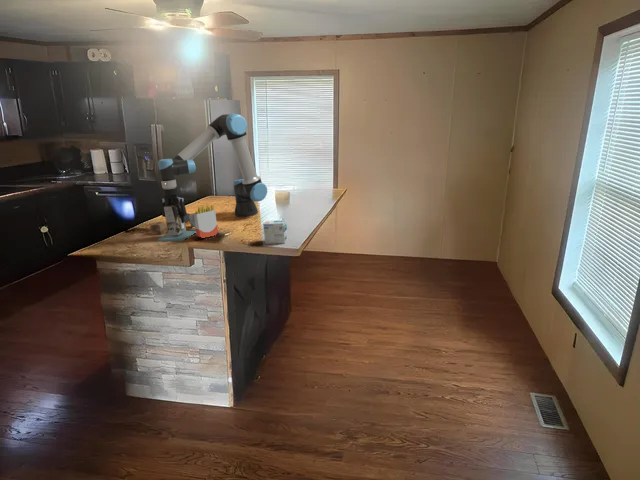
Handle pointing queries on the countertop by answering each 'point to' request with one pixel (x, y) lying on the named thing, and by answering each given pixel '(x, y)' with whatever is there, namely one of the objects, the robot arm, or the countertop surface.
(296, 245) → the countertop surface
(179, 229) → the coffee box
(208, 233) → the french fries container
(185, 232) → the pad
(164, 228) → the walnut block
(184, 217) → the charcoal box
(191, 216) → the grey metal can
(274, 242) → the light bulb box
